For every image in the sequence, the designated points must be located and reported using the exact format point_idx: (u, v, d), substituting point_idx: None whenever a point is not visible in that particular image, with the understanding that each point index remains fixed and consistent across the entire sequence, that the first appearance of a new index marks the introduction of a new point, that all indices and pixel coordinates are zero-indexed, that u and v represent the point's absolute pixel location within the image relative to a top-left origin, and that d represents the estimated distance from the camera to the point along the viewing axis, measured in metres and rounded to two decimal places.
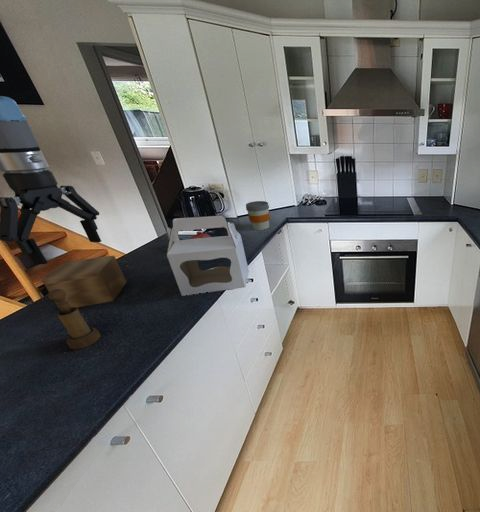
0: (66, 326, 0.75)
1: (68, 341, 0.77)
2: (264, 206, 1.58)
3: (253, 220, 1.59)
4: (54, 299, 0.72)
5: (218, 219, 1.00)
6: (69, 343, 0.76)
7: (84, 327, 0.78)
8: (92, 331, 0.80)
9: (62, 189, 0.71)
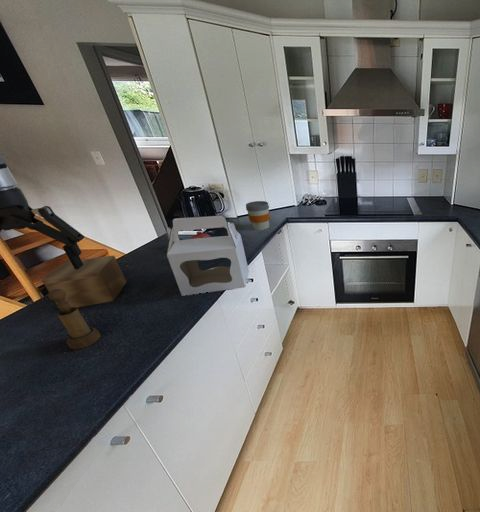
0: (66, 326, 0.75)
1: (68, 341, 0.77)
2: (264, 206, 1.58)
3: (253, 220, 1.59)
4: (54, 299, 0.72)
5: (218, 219, 1.00)
6: (69, 343, 0.76)
7: (84, 327, 0.78)
8: (92, 331, 0.80)
9: (35, 210, 0.64)
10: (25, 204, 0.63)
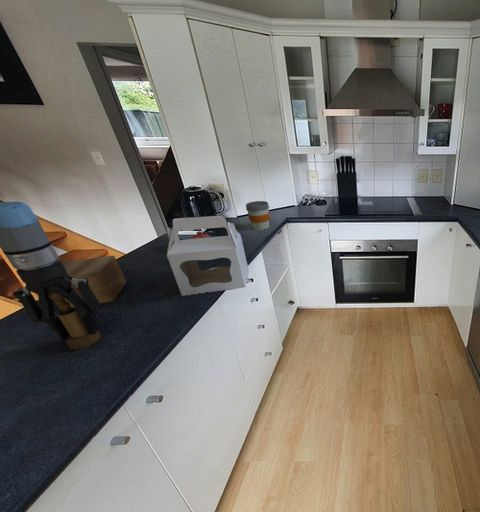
0: (66, 326, 0.75)
1: (68, 341, 0.77)
2: (264, 206, 1.58)
3: (253, 220, 1.59)
4: (54, 299, 0.72)
5: (218, 219, 1.00)
6: (69, 343, 0.76)
7: (84, 327, 0.78)
8: None
9: (74, 281, 0.73)
10: (65, 274, 0.72)
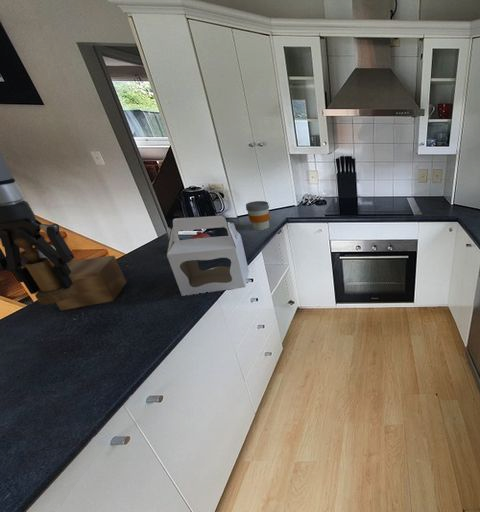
0: (34, 277, 0.68)
1: (37, 295, 0.70)
2: (264, 206, 1.58)
3: (253, 220, 1.59)
4: (20, 245, 0.65)
5: (218, 219, 1.00)
6: (38, 297, 0.69)
7: (55, 280, 0.71)
8: None
9: (43, 226, 0.66)
10: (32, 217, 0.65)
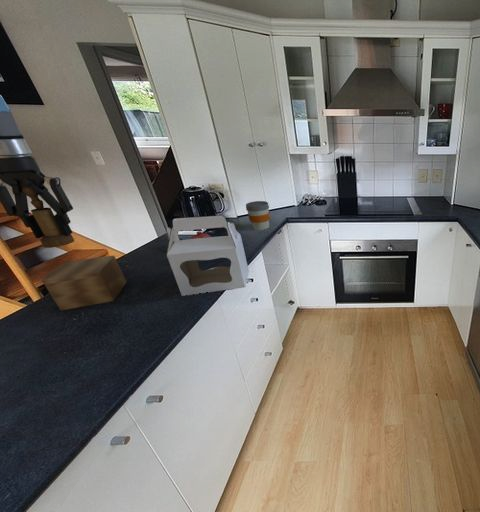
0: (39, 223, 0.80)
1: (41, 239, 0.82)
2: (264, 206, 1.58)
3: (253, 220, 1.59)
4: (27, 193, 0.77)
5: (218, 219, 1.00)
6: (42, 240, 0.81)
7: (57, 227, 0.83)
8: None
9: (46, 178, 0.78)
10: (37, 170, 0.76)
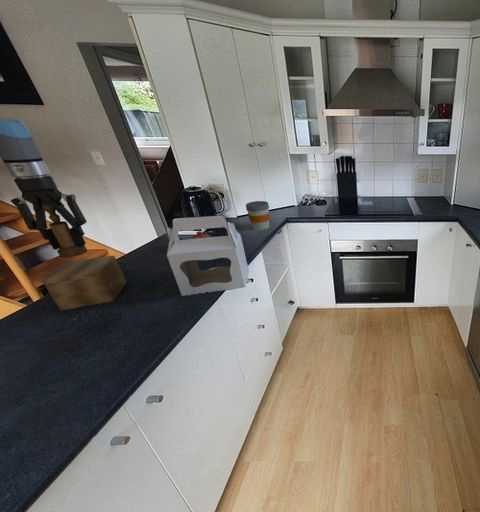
0: (57, 236, 0.88)
1: (58, 250, 0.90)
2: (264, 206, 1.58)
3: (253, 220, 1.59)
4: (46, 209, 0.85)
5: (218, 219, 1.00)
6: (59, 251, 0.89)
7: (72, 239, 0.91)
8: None
9: (63, 195, 0.86)
10: (55, 188, 0.85)
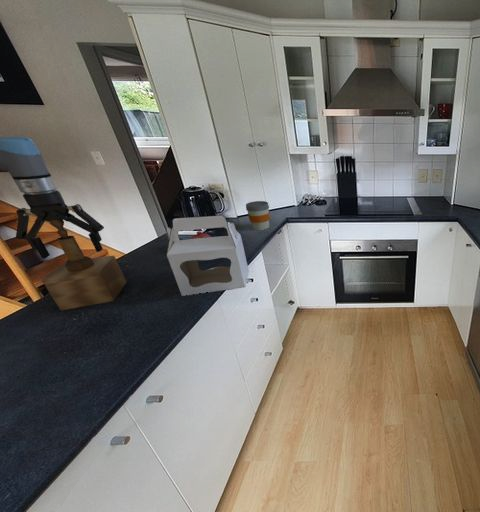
0: (64, 250, 0.91)
1: (66, 264, 0.92)
2: (264, 206, 1.58)
3: (253, 220, 1.59)
4: (54, 225, 0.87)
5: (218, 219, 1.00)
6: (67, 265, 0.92)
7: (79, 253, 0.93)
8: (86, 258, 0.95)
9: (69, 207, 0.88)
10: (62, 203, 0.87)
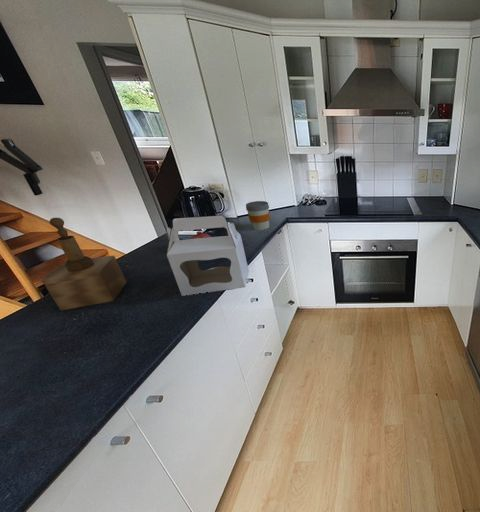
0: (64, 250, 0.91)
1: (66, 264, 0.92)
2: (264, 206, 1.58)
3: (253, 220, 1.59)
4: (54, 225, 0.87)
5: (218, 219, 1.00)
6: (67, 265, 0.92)
7: (79, 253, 0.93)
8: (86, 258, 0.95)
9: None
10: None
